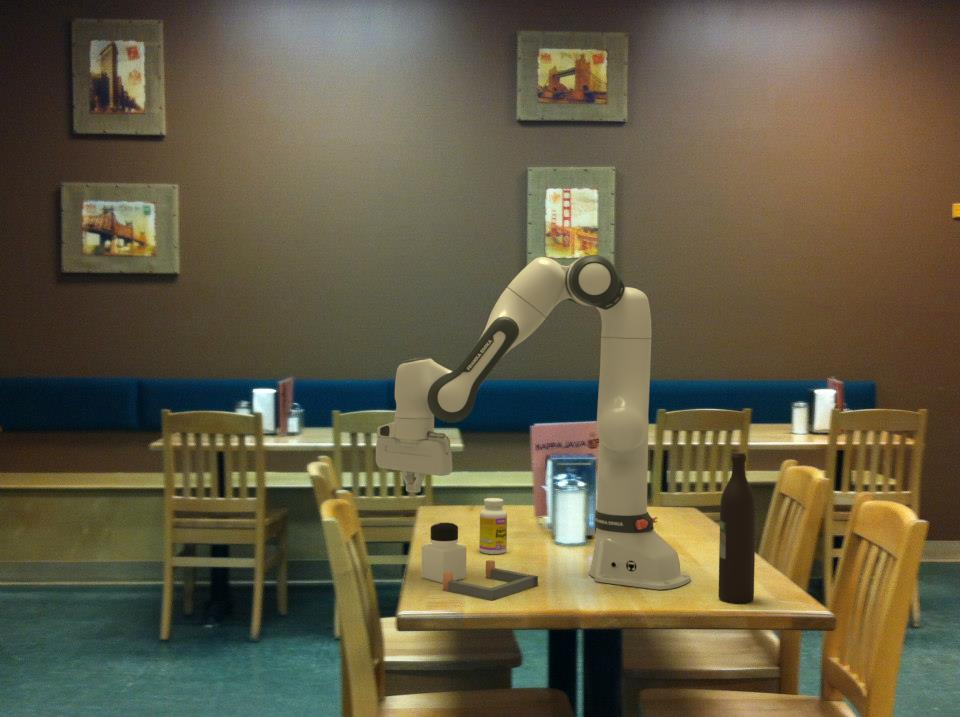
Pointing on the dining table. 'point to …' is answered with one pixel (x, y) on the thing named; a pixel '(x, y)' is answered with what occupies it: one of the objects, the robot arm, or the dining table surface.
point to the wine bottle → (737, 536)
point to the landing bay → (515, 585)
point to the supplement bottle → (493, 527)
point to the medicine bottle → (443, 553)
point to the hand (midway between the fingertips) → (413, 491)
